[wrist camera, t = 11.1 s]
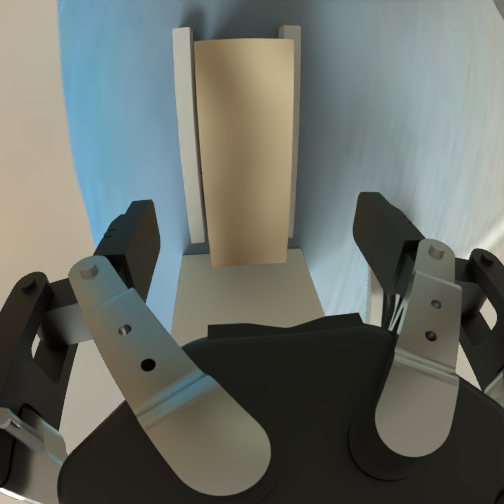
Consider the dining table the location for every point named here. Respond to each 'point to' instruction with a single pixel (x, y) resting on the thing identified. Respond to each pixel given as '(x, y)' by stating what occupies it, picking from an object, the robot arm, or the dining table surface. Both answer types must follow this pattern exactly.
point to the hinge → (379, 303)
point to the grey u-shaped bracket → (199, 266)
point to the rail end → (246, 146)
